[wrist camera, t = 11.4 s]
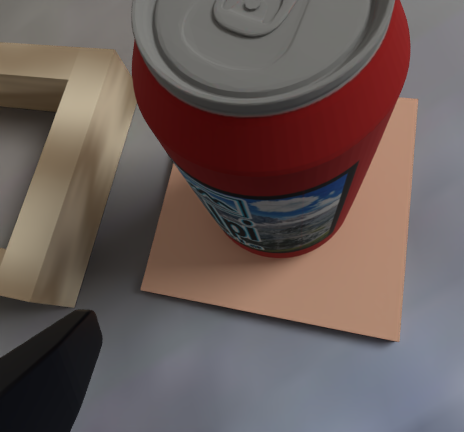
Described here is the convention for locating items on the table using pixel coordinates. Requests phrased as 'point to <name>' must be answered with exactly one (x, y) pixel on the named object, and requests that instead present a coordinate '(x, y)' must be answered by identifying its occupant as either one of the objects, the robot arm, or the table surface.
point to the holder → (64, 163)
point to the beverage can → (271, 106)
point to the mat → (304, 266)
